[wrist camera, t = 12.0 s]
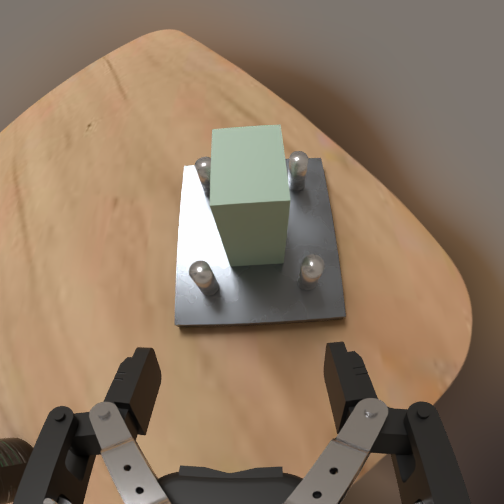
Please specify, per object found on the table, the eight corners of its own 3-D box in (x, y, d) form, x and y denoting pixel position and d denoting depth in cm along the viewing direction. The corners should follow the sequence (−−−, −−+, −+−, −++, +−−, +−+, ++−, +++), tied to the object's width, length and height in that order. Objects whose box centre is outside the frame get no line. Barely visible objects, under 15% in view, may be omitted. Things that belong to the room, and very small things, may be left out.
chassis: (178, 327, 26) (158, 315, 21) (186, 173, 32) (174, 140, 27) (342, 318, 25) (358, 305, 21) (319, 165, 32) (326, 131, 27)
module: (230, 266, 27) (209, 205, 17) (229, 205, 29) (212, 129, 20) (283, 263, 26) (290, 200, 17) (277, 202, 29) (280, 124, 19)
